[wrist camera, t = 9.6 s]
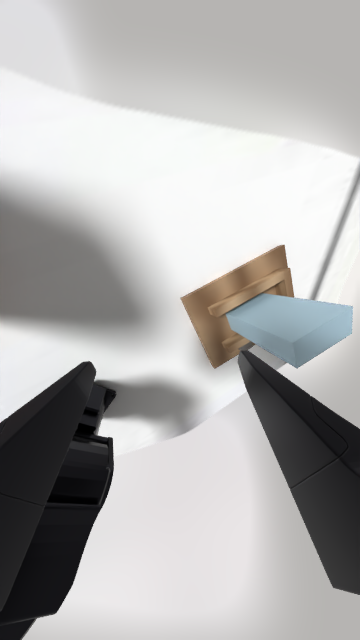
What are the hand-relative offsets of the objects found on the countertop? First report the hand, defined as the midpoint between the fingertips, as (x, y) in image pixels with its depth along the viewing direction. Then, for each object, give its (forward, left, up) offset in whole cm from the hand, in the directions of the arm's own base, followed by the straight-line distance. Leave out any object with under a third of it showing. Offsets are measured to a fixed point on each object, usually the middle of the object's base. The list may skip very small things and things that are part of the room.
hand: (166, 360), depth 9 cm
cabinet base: (+9, -13, -13) cm, 20 cm away
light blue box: (+9, -13, -12) cm, 20 cm away
